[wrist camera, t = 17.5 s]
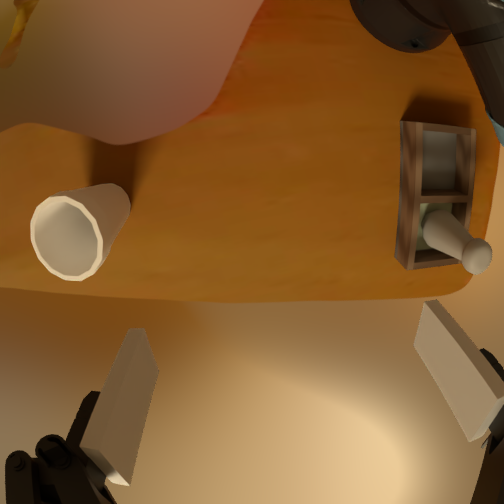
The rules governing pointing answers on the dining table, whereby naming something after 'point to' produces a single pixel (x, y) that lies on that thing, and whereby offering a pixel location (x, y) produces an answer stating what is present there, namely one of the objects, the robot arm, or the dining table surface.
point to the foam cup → (78, 229)
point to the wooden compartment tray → (432, 186)
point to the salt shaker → (456, 241)
